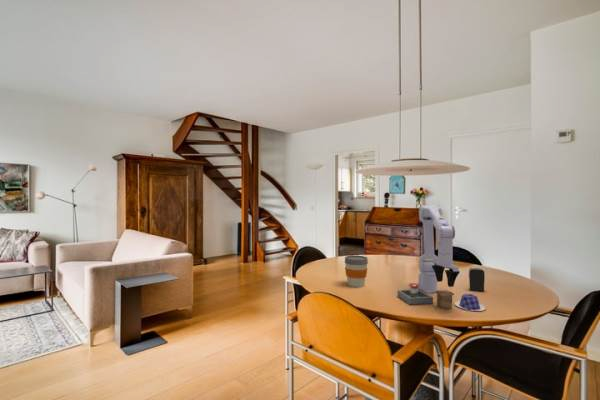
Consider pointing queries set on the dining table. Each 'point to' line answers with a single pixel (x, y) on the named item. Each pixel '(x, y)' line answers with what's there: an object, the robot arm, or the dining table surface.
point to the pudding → (470, 303)
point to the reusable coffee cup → (356, 270)
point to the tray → (419, 300)
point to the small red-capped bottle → (413, 290)
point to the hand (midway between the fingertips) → (445, 283)
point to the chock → (444, 299)
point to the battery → (476, 279)
